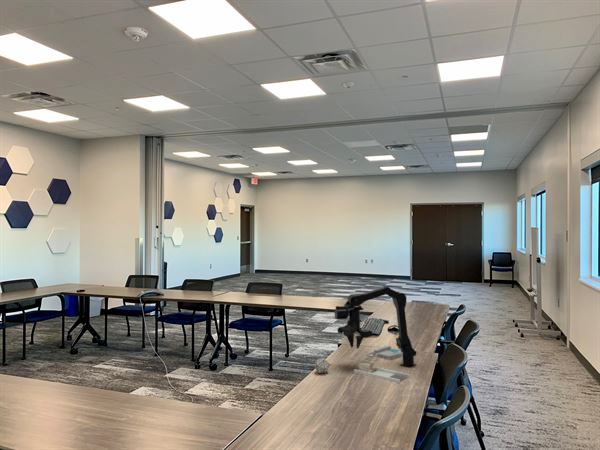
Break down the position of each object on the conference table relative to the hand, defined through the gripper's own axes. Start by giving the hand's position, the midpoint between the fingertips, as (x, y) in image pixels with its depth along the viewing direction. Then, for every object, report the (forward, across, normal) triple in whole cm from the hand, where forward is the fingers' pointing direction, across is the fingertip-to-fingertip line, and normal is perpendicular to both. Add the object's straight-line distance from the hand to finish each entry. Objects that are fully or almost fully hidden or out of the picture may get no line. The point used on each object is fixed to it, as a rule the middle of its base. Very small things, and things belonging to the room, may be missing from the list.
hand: (354, 347), depth 229 cm
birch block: (+11, +8, 0) cm, 13 cm away
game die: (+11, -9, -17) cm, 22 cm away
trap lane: (+11, +16, 0) cm, 19 cm away
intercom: (+12, 0, +29) cm, 31 cm away
